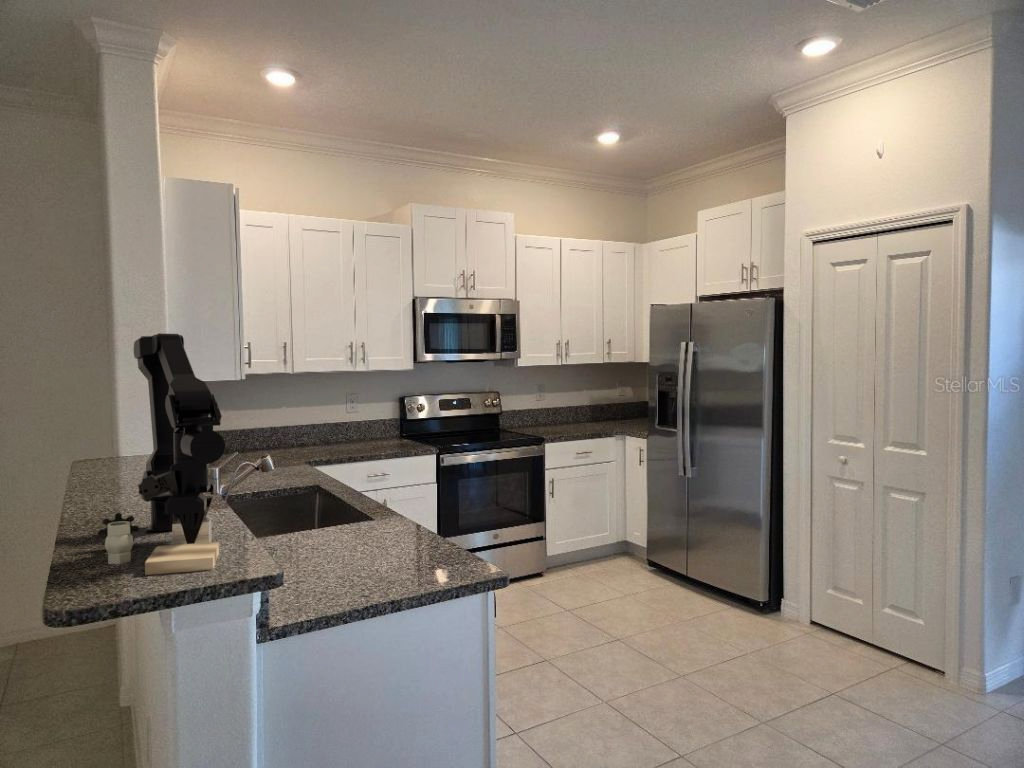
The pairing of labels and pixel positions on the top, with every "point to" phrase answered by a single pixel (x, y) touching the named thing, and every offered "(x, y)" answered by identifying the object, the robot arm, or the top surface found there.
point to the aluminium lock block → (203, 534)
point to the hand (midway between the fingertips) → (192, 542)
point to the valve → (118, 538)
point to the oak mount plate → (182, 558)
